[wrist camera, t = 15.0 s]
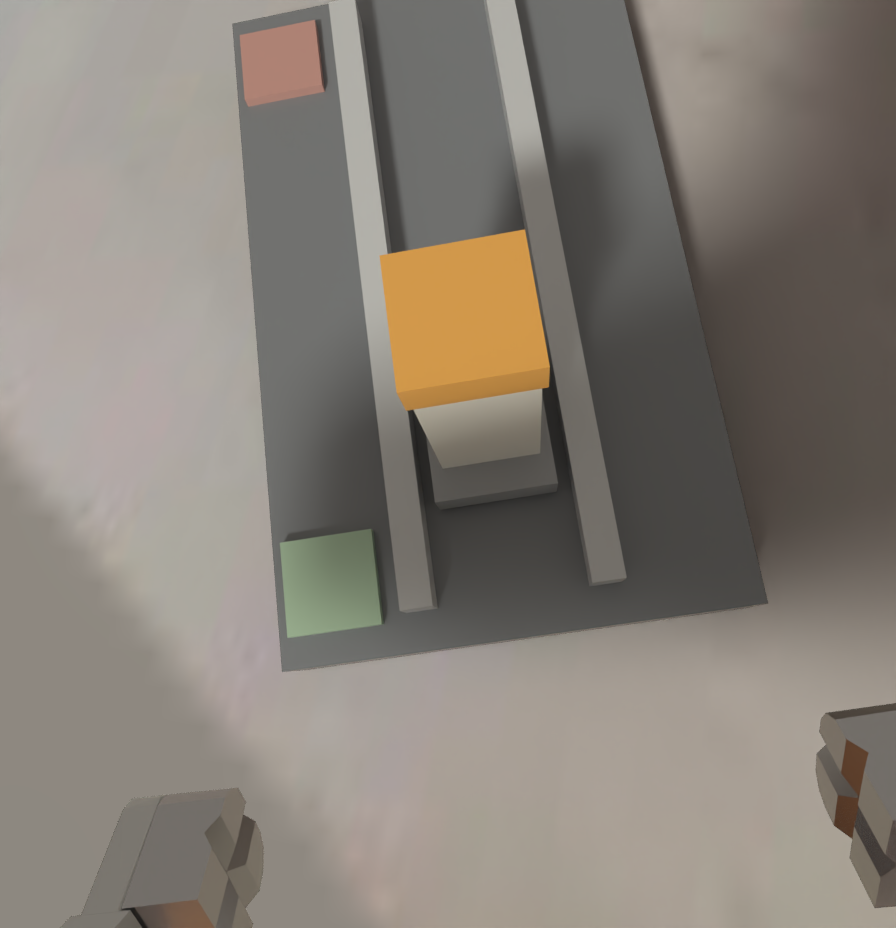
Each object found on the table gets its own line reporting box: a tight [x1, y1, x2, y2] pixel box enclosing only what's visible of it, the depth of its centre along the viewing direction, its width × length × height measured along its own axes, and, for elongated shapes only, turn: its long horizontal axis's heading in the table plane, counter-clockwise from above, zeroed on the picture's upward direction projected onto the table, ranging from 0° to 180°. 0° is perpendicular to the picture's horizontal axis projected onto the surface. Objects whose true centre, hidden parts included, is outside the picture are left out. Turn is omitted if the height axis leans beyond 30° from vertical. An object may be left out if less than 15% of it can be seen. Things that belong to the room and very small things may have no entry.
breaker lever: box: [380, 229, 558, 510], centre depth 16 cm, size 4×3×7 cm
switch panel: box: [232, 0, 768, 672], centre depth 22 cm, size 20×12×3 cm, turn 8°
